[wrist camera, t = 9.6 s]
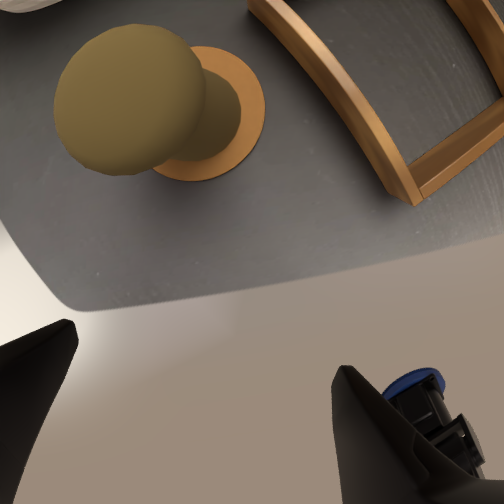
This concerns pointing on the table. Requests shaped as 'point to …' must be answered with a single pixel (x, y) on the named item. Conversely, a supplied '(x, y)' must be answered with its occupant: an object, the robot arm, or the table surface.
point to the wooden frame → (364, 117)
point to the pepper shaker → (142, 103)
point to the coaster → (248, 128)
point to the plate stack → (24, 5)
